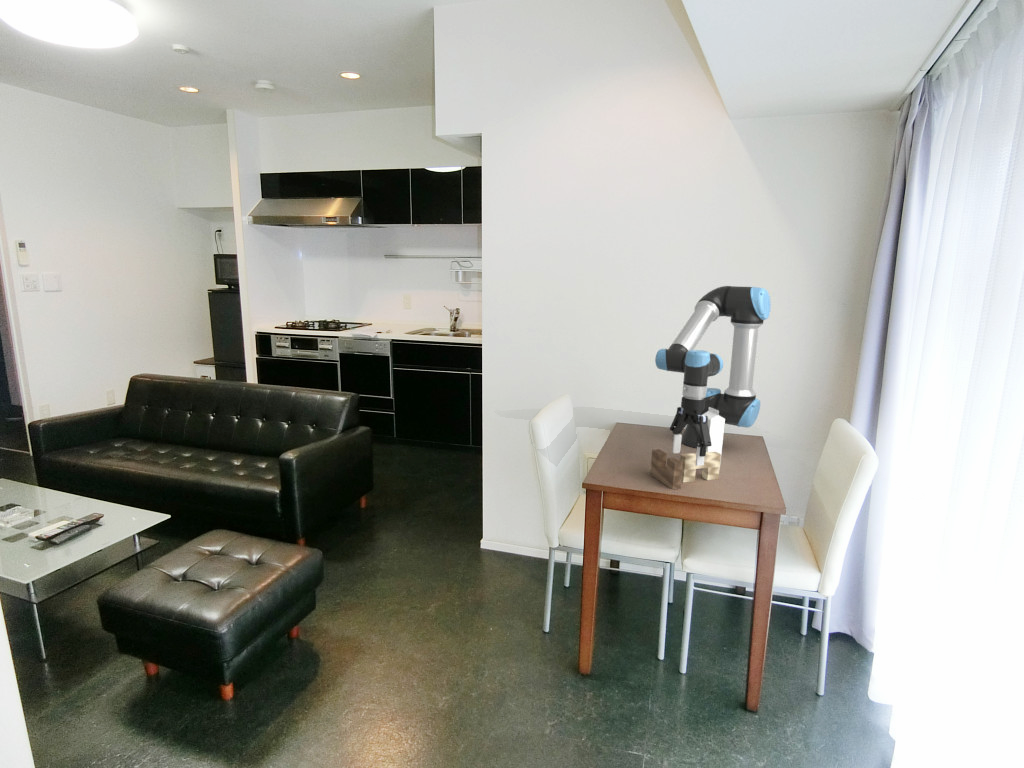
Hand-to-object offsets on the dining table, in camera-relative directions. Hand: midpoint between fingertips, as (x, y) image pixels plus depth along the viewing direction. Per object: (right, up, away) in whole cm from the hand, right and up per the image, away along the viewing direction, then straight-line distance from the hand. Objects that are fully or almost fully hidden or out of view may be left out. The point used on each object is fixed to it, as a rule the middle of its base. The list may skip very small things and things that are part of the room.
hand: (687, 458), depth 198 cm
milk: (+12, -5, +16) cm, 21 cm away
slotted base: (-7, -8, 0) cm, 11 cm away
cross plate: (+5, -7, +3) cm, 9 cm away
